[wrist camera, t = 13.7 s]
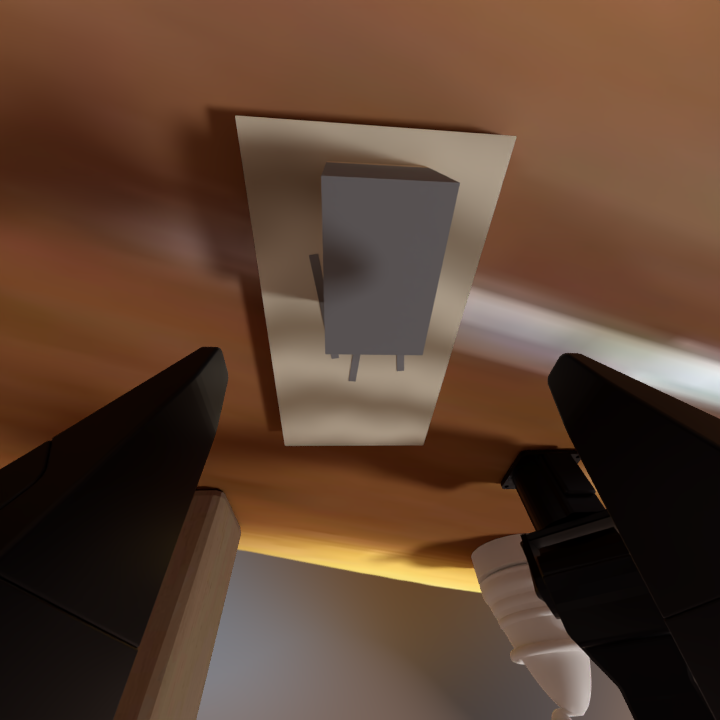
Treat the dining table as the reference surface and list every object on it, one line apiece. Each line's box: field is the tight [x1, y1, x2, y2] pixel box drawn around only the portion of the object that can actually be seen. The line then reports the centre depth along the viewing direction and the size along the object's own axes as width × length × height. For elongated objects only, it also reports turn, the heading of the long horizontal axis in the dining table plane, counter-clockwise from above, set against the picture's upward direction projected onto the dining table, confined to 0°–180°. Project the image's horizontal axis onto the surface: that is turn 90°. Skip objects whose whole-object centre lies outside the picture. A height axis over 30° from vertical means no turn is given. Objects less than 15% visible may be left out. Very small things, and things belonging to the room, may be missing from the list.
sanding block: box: [321, 161, 460, 355], centre depth 14 cm, size 7×4×5 cm, turn 177°
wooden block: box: [113, 490, 241, 720], centre depth 27 cm, size 10×10×20 cm
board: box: [235, 116, 517, 446], centre depth 20 cm, size 22×12×2 cm, turn 177°
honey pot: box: [471, 533, 591, 720], centre depth 40 cm, size 13×13×18 cm
